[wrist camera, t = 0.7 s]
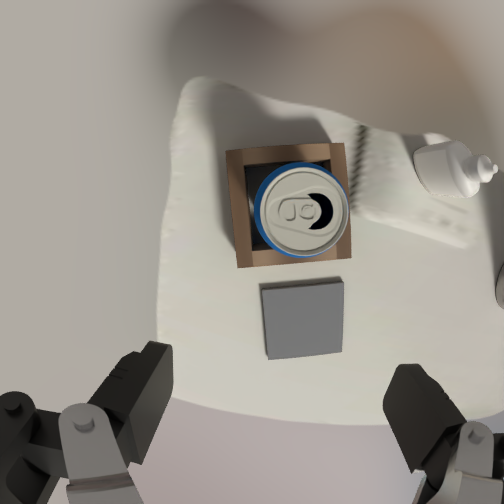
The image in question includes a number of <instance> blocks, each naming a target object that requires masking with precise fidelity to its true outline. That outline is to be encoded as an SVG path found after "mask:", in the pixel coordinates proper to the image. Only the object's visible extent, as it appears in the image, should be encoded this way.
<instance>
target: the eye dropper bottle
mask: <svg viewBox="0 0 504 504" xmlns="http://www.w3.org/2000/svg"><path fill="white" fill-rule="evenodd" d="M413 159H414V165H415V169H416V172H417V175H418V177H419V179H420V181H421V183H422V184H423V186H424V187H425V189H426V190H427V191H428V192H429V193H430V194H432V195H439V196H449V197H460V198H469V197H471V196H473V195H474V194H476V193H477V192H478V190H479V187H480V182H489V181H490V180H491V179H492V177H493V173H497V172H498V167H497V165H496V164H492V162H491V160H490V159H489V158H488V157H487V156H486V155H474V156H473V154H472V153H471V152H470V150H469V149H468V148H467V147H466V146H465V145H464V144H463V143H462V142H460V141H449V142H443V143H438V144H433V145H428V146H424V147H422V148H420V149H418V150H416V151H415V152H414V155H413Z"/></svg>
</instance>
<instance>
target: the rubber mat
mask: <svg viewBox="0 0 504 504" xmlns="http://www.w3.org/2000/svg"><path fill="white" fill-rule="evenodd" d="M262 296H263V307H264V318H265V329H266V341H267V352H268V360H274V359H286V358H296V357H306V356H315V355H323V354H331V353H338V352H342V339H343V311H344V282H343V281H339V282H329V283H319V284H309V285H299V286H288V287H276V288H265V289H262Z"/></svg>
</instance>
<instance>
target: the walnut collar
mask: <svg viewBox="0 0 504 504" xmlns="http://www.w3.org/2000/svg"><path fill="white" fill-rule="evenodd" d="M226 161H227V172H228V182H229V192H230V202H231V211H232V221H233V230H234V239H235V249H236V258H237V267H238V268H246V267H258V266H270V265H281V264H293V263H304V262H315V261H326V260H336V259H347V258H351V225H350V205H349V190H348V177H347V166H346V156H345V147H344V143H320V144H297V145H281V146H268V147H257V148H246V149H237V150H228V151H226ZM296 162H307V163H317V162H323V168H325V169H326V170H328V171H329V172H330V173H332V174H333V175H334V176H335V177H336V178H337V179H338V181H339V182H340V183H341V185H342V187H343V189H344V191H345V193H346V196H347V200H348V206H349V216H348V221H347V225H346V228H345V230H344V232H343V234H342V236H341V237H340V239H339V240H338V241H337V242H336V243H335V244H334V245H333V246H332V247H331V248H330V249H328V250H327V251H325V252H323V253H322V254H319V255H316V256H313V257H307V258H295V257H290V256H286V255H284V254H281V253H279V252H278V251H276V250H274V249H273V248H272V247H271V246H269V245H268V244H267V243H261V244H253V237H252V227H251V217H250V207H249V196H248V186H247V176H246V168H248V167H259V166H270V165H283V164H290V163H296Z"/></svg>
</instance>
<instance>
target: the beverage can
mask: <svg viewBox="0 0 504 504" xmlns="http://www.w3.org/2000/svg"><path fill="white" fill-rule="evenodd" d="M348 216H349V206H348V200H347V196H346V193H345V191H344V189H343V187H342V185H341V183H340V182H339V181H338V179H337V178H336V177H335V176H334V175H333V174H332V173H330V172H329V171H328V170H326V169H325V168H323V167H321V166H318V165H315V164H312V163H307V162H296V163H290V164H287V165H284V166H281V167H279V168H278V169H276V170H274V171H273V172H272V173H270V174H269V175H268V176H267V177H266V178H265V180H264V181H263V182H262V184H261V185H260V187H259V189H258V191H257V194H256V197H255V202H254V219H255V223H256V226H257V229H258V231H259V233H260V235H261V236H262V238H263V239H264V240H265V242H266V243H267V244H268V245H269V246H271V247H272V248H273V249H274V250H276V251H278V252H279V253H281V254H284V255H286V256H290V257H295V258H307V257H313V256H316V255H319V254H322V253H323V252H325V251H327V250H328V249H330V248H331V247H332V246H333V245H334V244H335V243H336V242H337V241H338V240H339V239H340V237H341V236H342V234H343V232H344V230H345V228H346V225H347V221H348Z"/></svg>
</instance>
